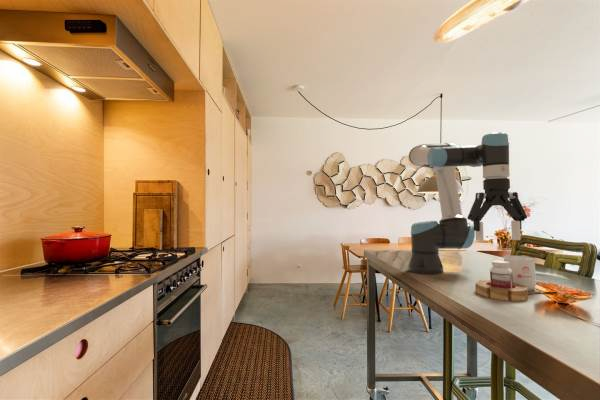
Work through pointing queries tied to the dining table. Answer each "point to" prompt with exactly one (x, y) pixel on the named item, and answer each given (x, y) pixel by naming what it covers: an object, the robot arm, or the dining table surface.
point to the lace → (534, 292)
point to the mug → (522, 270)
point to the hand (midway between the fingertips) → (498, 240)
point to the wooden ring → (501, 291)
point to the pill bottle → (501, 275)
